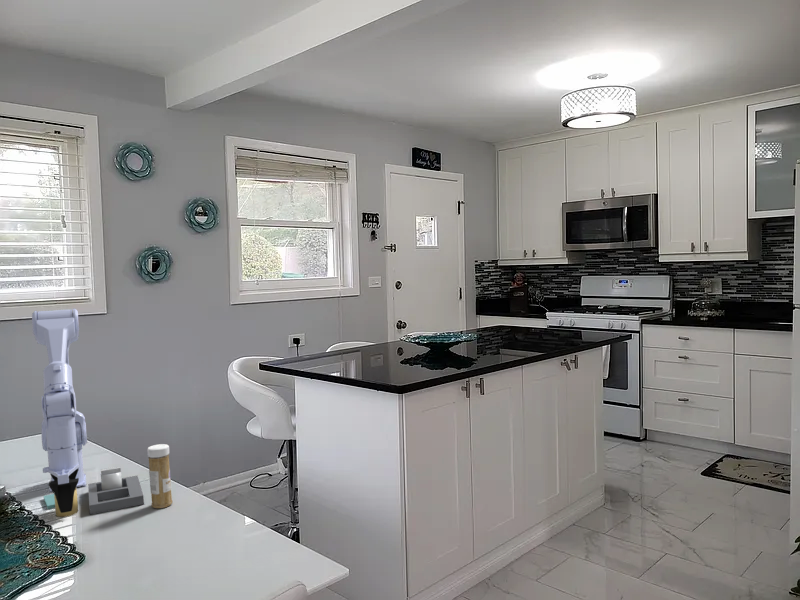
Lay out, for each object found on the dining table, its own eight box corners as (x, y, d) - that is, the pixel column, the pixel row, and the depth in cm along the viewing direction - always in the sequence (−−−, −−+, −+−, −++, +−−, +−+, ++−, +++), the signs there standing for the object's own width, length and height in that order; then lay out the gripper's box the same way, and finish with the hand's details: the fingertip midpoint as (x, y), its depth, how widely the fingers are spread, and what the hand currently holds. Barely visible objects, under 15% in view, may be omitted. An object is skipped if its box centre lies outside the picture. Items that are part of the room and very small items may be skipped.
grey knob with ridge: (101, 492, 153) (100, 467, 153) (121, 488, 155) (120, 464, 155) (102, 498, 149) (100, 473, 149) (123, 494, 151) (121, 469, 151)
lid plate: (43, 499, 150) (43, 496, 150) (67, 494, 153) (67, 490, 153) (47, 509, 143) (47, 506, 143) (72, 503, 146) (72, 500, 146)
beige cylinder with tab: (56, 511, 142) (54, 485, 141) (78, 507, 144) (76, 481, 143) (55, 518, 138) (53, 491, 138) (78, 514, 140) (76, 487, 140)
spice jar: (174, 505, 142) (171, 446, 142) (153, 510, 140) (149, 450, 139) (169, 499, 146) (166, 442, 145) (148, 504, 144) (145, 446, 143)
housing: (88, 492, 154) (88, 484, 153) (137, 483, 158) (137, 475, 158) (89, 514, 139) (89, 505, 139) (143, 504, 144) (143, 495, 144)
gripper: (42, 441, 145) (47, 499, 145) (39, 457, 132) (44, 521, 132) (77, 436, 148) (81, 493, 149) (77, 451, 135) (82, 514, 136)
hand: (66, 506), depth 141 cm, fingers open, 6 cm apart
